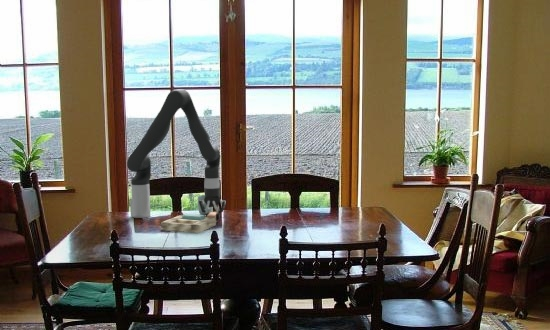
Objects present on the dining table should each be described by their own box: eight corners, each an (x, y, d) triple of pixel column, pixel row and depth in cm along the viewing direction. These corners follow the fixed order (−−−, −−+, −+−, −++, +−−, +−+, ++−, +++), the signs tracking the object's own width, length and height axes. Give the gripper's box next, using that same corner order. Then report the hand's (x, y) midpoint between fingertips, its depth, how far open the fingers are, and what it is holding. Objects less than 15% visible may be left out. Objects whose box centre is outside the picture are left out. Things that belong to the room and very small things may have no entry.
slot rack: (161, 229, 257) (161, 222, 256) (180, 222, 273) (179, 215, 272) (198, 232, 250) (198, 225, 249) (215, 225, 266) (215, 217, 265)
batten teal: (204, 223, 265) (204, 215, 265) (200, 224, 261) (199, 216, 261) (186, 221, 269) (186, 213, 269) (182, 223, 266) (182, 215, 265)
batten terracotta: (214, 224, 268) (214, 216, 268) (206, 223, 269) (206, 215, 268) (218, 219, 278) (218, 212, 278) (210, 219, 279) (210, 212, 278)
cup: (214, 213, 295) (213, 195, 294) (211, 216, 287) (210, 197, 286) (200, 213, 296) (199, 194, 295) (196, 216, 288) (196, 197, 287)
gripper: (195, 187, 269) (196, 221, 271) (223, 188, 267) (224, 222, 268) (200, 185, 277) (201, 218, 278) (227, 186, 274) (228, 219, 276)
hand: (212, 220), depth 273 cm, fingers closed on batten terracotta, 4 cm apart
